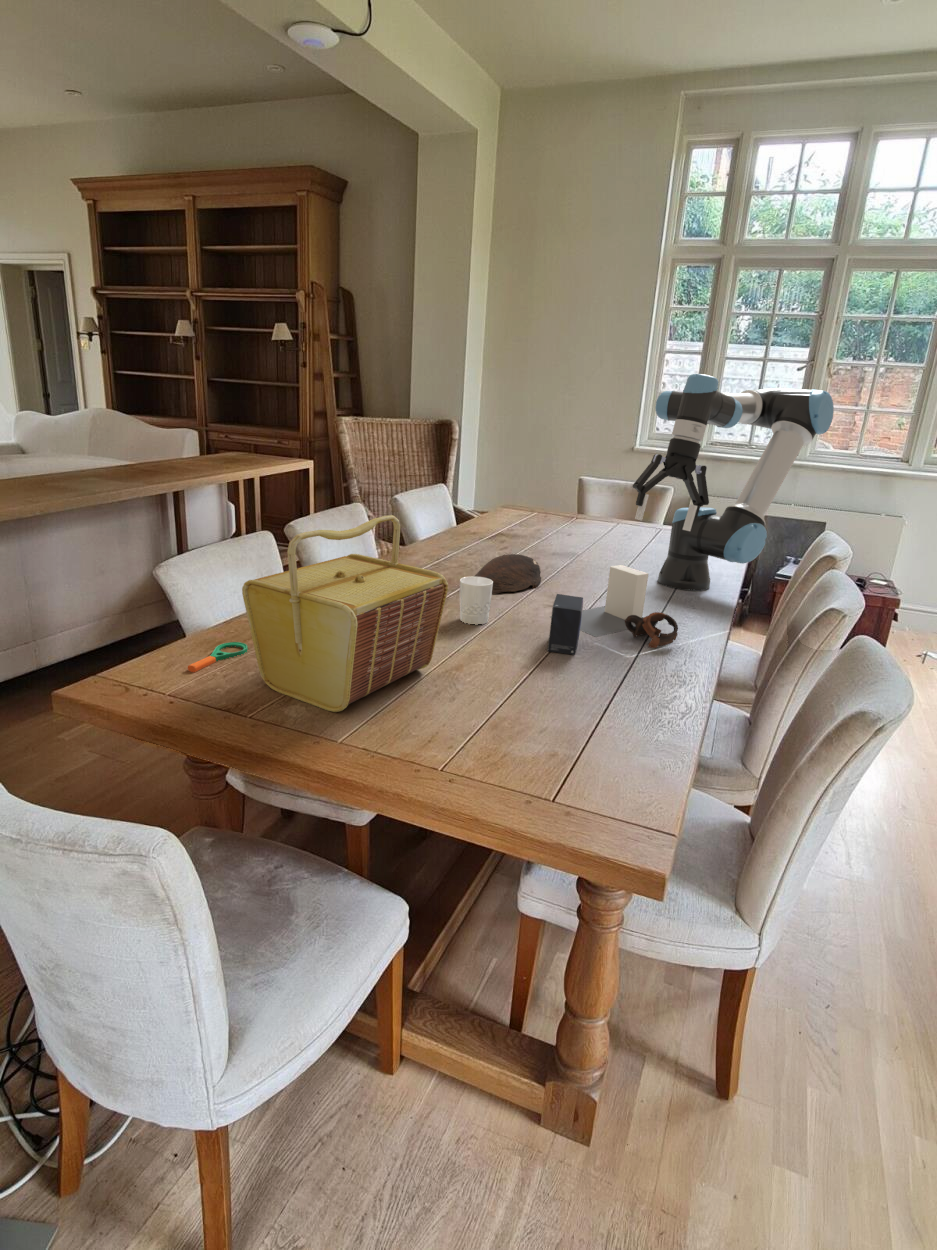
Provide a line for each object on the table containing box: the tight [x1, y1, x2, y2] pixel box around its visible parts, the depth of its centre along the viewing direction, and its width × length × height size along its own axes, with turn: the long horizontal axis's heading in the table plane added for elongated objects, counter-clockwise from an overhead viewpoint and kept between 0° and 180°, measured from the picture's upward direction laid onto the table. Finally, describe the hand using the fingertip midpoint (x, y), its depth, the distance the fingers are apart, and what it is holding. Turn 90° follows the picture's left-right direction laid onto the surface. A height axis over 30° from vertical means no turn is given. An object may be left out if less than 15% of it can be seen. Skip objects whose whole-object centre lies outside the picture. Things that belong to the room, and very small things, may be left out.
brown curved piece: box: [625, 611, 679, 649], centre depth 163 cm, size 12×10×8 cm
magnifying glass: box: [187, 641, 249, 673], centre depth 141 cm, size 15×6×2 cm, turn 160°
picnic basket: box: [241, 514, 449, 713], centre depth 130 cm, size 29×26×30 cm
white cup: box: [459, 575, 493, 626], centre depth 170 cm, size 8×8×10 cm
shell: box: [474, 553, 542, 595], centre depth 207 cm, size 34×20×8 cm, turn 163°
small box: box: [546, 593, 584, 656], centre depth 157 cm, size 11×6×10 cm, turn 168°
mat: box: [549, 605, 645, 638], centre depth 176 cm, size 22×16×1 cm
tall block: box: [604, 564, 649, 620], centre depth 178 cm, size 4×9×12 cm, turn 36°
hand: (662, 525), depth 179 cm, fingers open, 13 cm apart
